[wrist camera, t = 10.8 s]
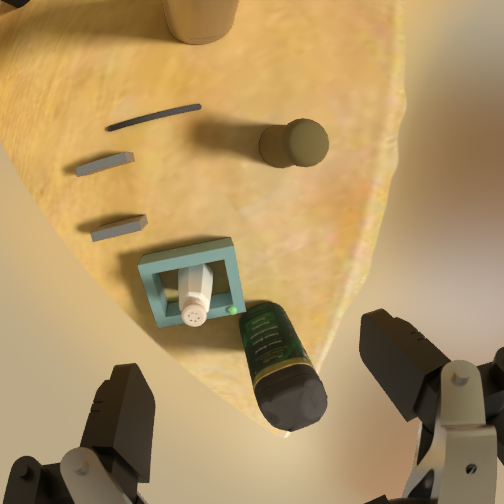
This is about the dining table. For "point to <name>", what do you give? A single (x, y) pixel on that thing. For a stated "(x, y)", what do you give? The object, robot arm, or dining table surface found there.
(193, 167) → the dining table surface
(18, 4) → the drinking cup
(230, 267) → the frame
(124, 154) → the pair of grey blocks
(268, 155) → the pepper shaker
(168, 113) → the thin black rod
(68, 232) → the dining table surface
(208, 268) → the pepper shaker
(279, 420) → the coffee jar
